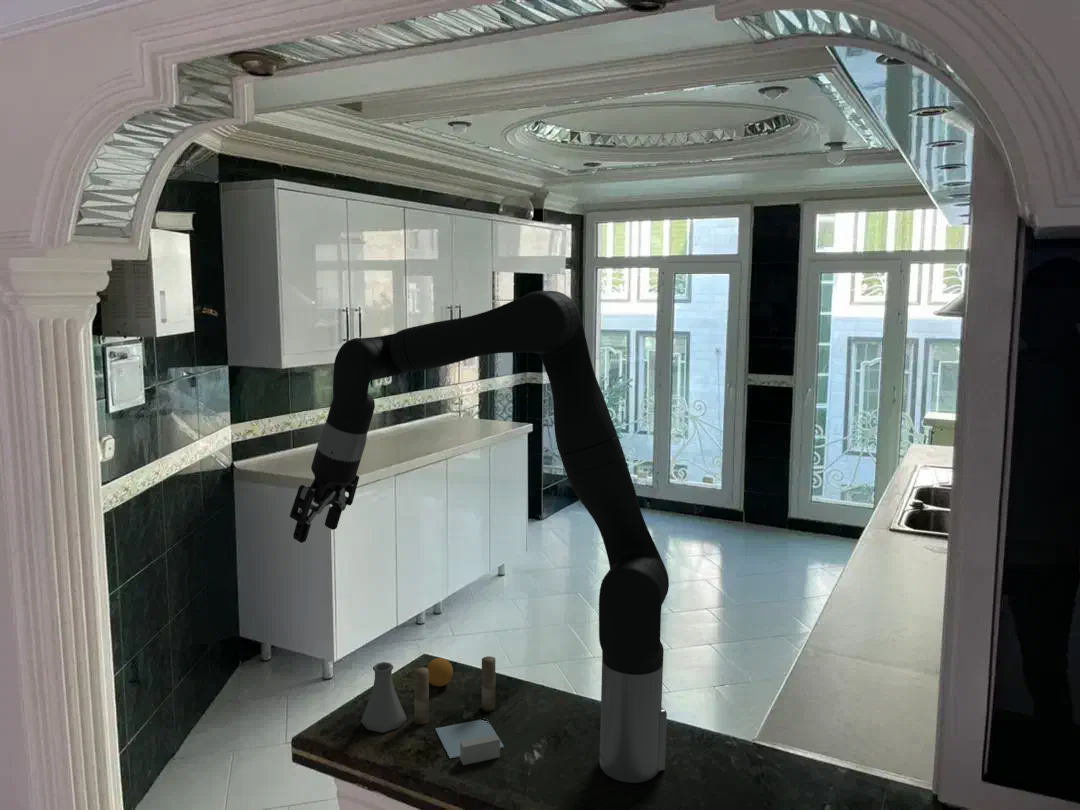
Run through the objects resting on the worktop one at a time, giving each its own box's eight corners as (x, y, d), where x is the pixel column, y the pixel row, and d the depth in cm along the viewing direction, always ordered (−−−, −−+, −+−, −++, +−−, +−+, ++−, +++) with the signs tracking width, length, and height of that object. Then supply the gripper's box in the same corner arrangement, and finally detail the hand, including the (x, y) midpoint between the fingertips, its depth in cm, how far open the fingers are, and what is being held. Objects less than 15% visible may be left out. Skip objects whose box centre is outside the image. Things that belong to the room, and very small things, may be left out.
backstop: (496, 751, 126) (496, 734, 125) (499, 757, 124) (499, 739, 124) (460, 759, 124) (460, 741, 123) (463, 765, 122) (463, 747, 122)
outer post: (427, 715, 136) (426, 666, 135) (430, 722, 134) (430, 672, 133) (413, 718, 135) (412, 668, 134) (416, 725, 133) (415, 675, 132)
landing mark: (486, 719, 135) (486, 718, 135) (504, 747, 127) (504, 746, 127) (435, 729, 132) (435, 728, 132) (449, 759, 124) (449, 757, 124)
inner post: (492, 703, 141) (492, 655, 139) (497, 710, 138) (497, 661, 137) (479, 705, 140) (479, 657, 139) (484, 712, 138) (484, 663, 136)
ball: (448, 676, 150) (448, 651, 150) (456, 688, 146) (456, 663, 145) (423, 681, 148) (422, 655, 148) (429, 693, 144) (429, 667, 143)
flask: (382, 738, 129) (381, 681, 128) (353, 723, 134) (351, 667, 132) (414, 720, 135) (413, 664, 134) (385, 706, 139) (384, 652, 138)
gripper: (331, 467, 126) (305, 555, 130) (381, 451, 139) (356, 532, 143) (295, 447, 128) (270, 535, 132) (347, 434, 141) (323, 514, 145)
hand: (315, 533), depth 137 cm, fingers open, 8 cm apart
